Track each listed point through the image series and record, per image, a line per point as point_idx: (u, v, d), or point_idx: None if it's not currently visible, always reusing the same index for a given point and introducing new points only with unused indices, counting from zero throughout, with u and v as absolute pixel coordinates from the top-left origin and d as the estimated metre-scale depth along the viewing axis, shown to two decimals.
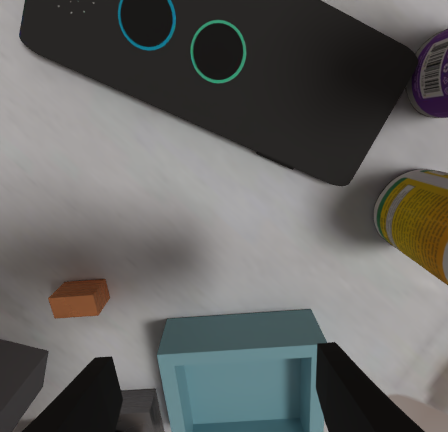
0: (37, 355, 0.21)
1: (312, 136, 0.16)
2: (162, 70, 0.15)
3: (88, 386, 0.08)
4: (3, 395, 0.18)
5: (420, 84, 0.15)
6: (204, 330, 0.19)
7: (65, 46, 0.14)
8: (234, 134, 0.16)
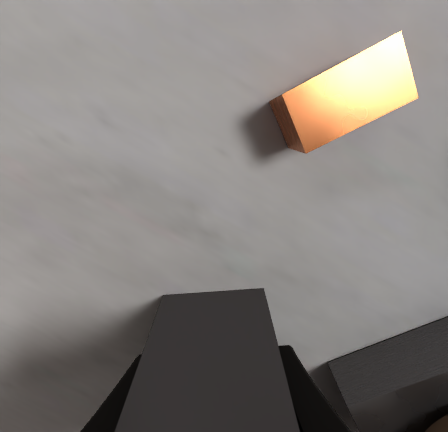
0: (253, 298, 0.10)
1: None
2: None
3: None
4: (263, 376, 0.07)
5: None
6: None
7: None
8: None
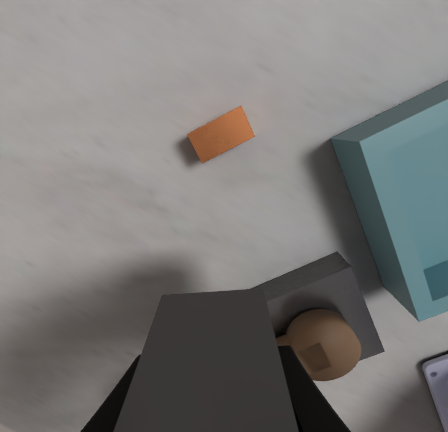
0: (252, 298, 0.10)
1: None
2: None
3: None
4: (262, 376, 0.07)
5: None
6: (396, 112, 0.14)
7: None
8: None
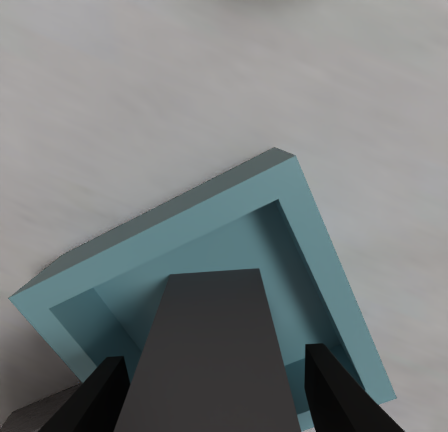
0: (249, 275, 0.12)
1: None
2: None
3: (102, 386, 0.08)
4: (256, 332, 0.08)
5: None
6: (100, 241, 0.11)
7: None
8: None
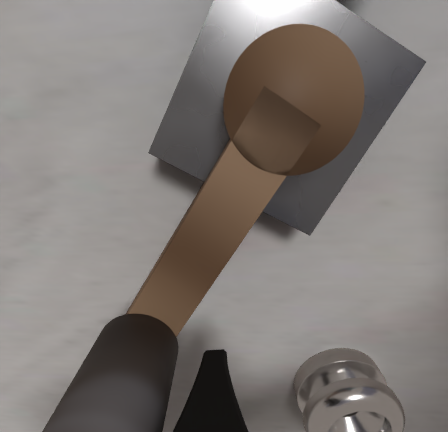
0: None
1: None
2: None
3: (220, 378, 0.08)
4: None
5: None
6: None
7: None
8: None
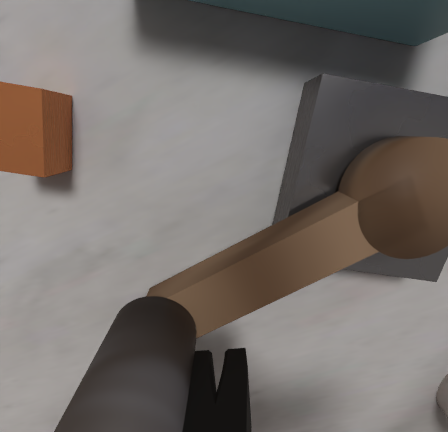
0: None
1: None
2: None
3: (246, 377, 0.08)
4: None
5: None
6: None
7: None
8: None
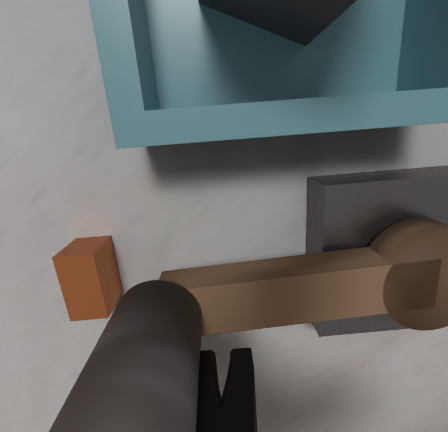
0: None
1: None
2: None
3: (253, 376, 0.08)
4: None
5: None
6: None
7: None
8: None
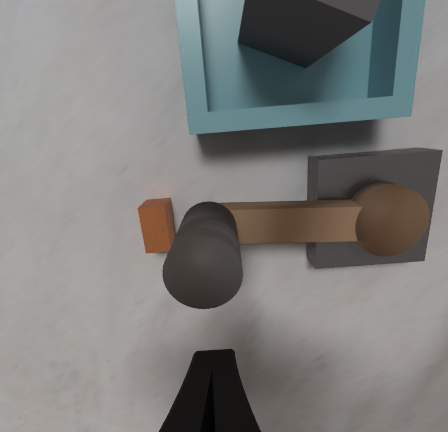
0: None
1: None
2: None
3: (209, 379, 0.08)
4: None
5: None
6: None
7: None
8: None
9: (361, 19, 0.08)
